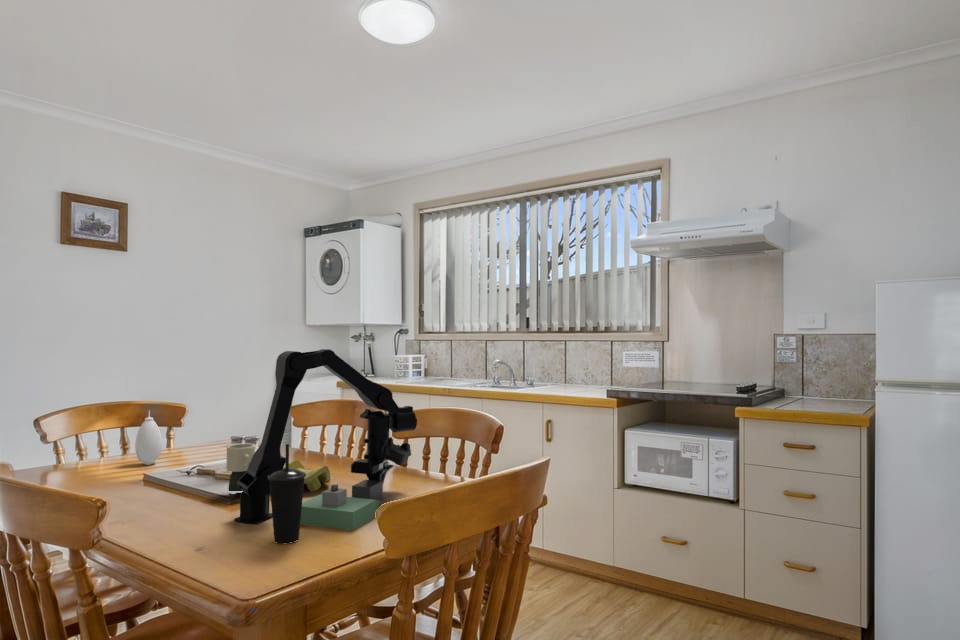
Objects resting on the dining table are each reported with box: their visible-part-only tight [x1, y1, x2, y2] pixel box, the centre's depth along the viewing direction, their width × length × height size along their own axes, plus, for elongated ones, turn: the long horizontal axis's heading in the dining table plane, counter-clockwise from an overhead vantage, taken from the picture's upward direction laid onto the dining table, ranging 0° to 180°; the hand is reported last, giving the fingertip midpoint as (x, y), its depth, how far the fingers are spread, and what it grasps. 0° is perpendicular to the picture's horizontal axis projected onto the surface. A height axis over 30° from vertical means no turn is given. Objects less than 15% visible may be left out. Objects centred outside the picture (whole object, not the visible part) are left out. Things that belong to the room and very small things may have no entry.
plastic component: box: [283, 459, 331, 493], centre depth 172 cm, size 20×7×10 cm
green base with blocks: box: [300, 484, 380, 531], centre depth 145 cm, size 17×15×8 cm
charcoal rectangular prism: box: [351, 479, 384, 503], centre depth 156 cm, size 7×5×5 cm
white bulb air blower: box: [134, 409, 163, 466], centre depth 201 cm, size 8×8×18 cm
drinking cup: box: [268, 443, 306, 544], centre depth 128 cm, size 8×8×20 cm
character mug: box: [226, 443, 256, 491], centre depth 164 cm, size 11×7×13 cm, turn 42°
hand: (378, 493), depth 161 cm, fingers closed
